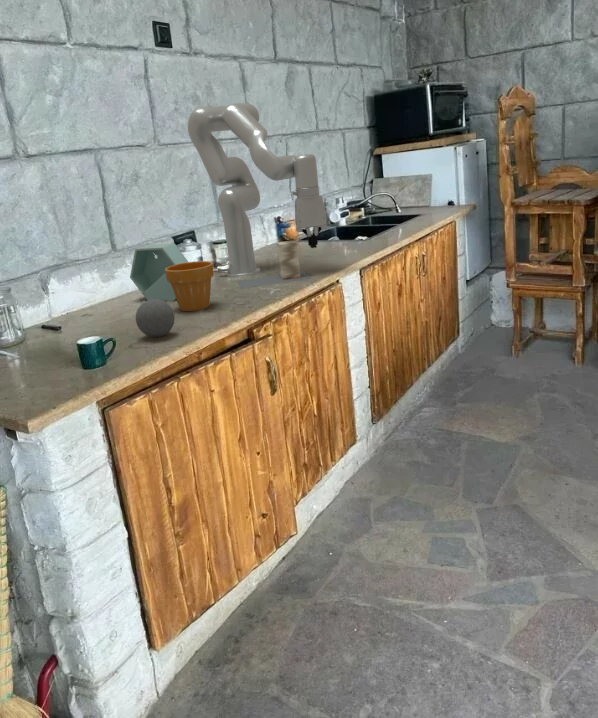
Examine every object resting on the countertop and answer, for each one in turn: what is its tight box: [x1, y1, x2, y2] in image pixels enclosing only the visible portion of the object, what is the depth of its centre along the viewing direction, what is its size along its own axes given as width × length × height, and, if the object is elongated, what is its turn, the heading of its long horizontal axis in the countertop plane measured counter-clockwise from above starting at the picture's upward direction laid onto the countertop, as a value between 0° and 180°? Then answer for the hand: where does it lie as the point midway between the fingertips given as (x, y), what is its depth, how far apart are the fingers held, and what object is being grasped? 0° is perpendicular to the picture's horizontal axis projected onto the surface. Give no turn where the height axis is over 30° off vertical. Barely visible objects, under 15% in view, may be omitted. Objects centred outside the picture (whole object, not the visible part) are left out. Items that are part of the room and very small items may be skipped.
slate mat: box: [236, 271, 312, 289], centre depth 236 cm, size 24×14×1 cm, turn 101°
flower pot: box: [165, 260, 215, 312], centre depth 208 cm, size 14×14×13 cm
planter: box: [129, 242, 189, 302], centre depth 225 cm, size 17×8×21 cm
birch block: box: [276, 240, 301, 280], centre depth 235 cm, size 6×6×12 cm
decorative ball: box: [135, 299, 176, 338], centre depth 180 cm, size 10×10×10 cm
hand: (313, 247), depth 236 cm, fingers closed
